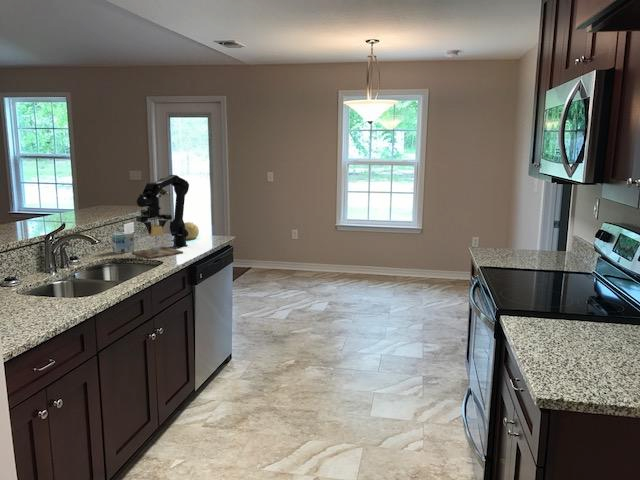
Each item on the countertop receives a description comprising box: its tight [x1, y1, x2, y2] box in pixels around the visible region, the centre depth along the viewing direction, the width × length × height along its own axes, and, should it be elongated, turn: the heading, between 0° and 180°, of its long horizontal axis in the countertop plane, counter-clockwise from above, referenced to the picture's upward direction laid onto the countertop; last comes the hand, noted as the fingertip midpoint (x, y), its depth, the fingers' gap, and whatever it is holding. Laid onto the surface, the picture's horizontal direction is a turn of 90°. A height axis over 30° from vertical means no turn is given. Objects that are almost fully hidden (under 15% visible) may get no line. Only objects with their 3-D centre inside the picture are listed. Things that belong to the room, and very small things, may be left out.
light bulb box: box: [111, 231, 136, 254], centre depth 290 cm, size 11×7×11 cm, turn 129°
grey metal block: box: [152, 245, 162, 254], centre depth 283 cm, size 3×3×4 cm
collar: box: [146, 224, 164, 237], centre depth 285 cm, size 6×6×5 cm
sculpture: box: [184, 221, 200, 240], centre depth 331 cm, size 12×12×11 cm
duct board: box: [131, 246, 184, 260], centre depth 287 cm, size 20×20×1 cm
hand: (155, 233), depth 285 cm, fingers closed on collar, 6 cm apart
